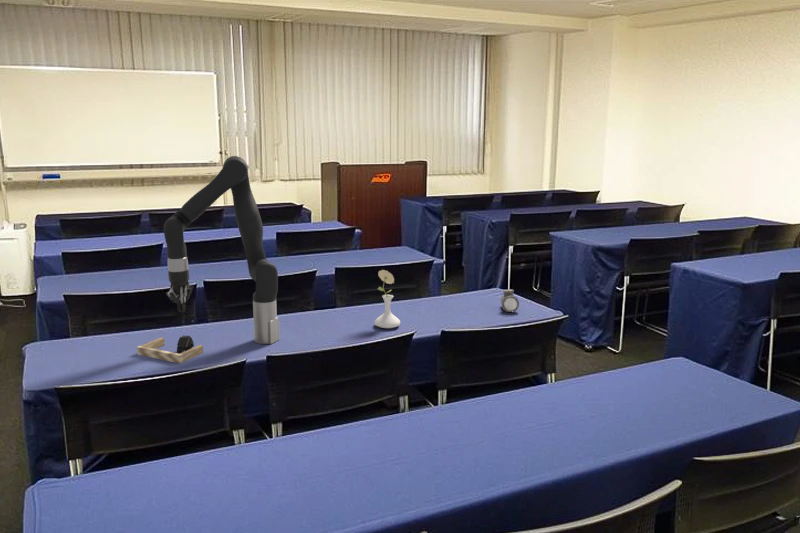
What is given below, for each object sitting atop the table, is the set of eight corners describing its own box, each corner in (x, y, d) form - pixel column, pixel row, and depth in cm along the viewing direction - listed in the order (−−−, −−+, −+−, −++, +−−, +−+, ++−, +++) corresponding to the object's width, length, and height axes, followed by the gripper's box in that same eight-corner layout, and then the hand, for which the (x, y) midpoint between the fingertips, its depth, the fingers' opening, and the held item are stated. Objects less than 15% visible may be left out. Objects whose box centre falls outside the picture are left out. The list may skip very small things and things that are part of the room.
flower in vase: (405, 327, 281) (406, 272, 275) (383, 332, 274) (383, 275, 269) (389, 319, 291) (389, 266, 286) (367, 324, 285) (367, 269, 279)
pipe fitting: (519, 312, 303) (518, 291, 302) (502, 313, 304) (501, 292, 302) (515, 308, 315) (514, 287, 314) (499, 309, 316) (498, 288, 314)
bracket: (203, 352, 248) (202, 345, 247) (180, 363, 237) (179, 355, 236) (161, 344, 256) (161, 337, 256) (137, 354, 245) (136, 347, 244)
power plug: (168, 358, 239) (177, 331, 247) (174, 369, 245) (183, 343, 253) (183, 359, 239) (192, 332, 247) (188, 370, 245) (197, 343, 253)
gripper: (173, 273, 239) (177, 317, 243) (197, 265, 250) (201, 308, 254) (157, 271, 242) (162, 315, 246) (183, 264, 253) (186, 306, 257)
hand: (181, 311), depth 250 cm, fingers closed
